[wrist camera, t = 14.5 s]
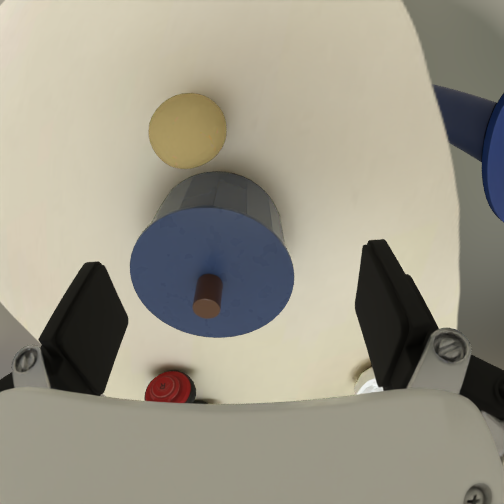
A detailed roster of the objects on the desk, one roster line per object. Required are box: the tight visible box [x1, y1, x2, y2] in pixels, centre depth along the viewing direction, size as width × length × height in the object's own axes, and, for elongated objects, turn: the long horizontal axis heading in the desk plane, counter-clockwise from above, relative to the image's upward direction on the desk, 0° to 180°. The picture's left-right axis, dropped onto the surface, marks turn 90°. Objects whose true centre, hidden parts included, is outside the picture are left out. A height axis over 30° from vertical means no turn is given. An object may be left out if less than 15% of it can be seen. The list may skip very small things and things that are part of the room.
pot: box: [152, 172, 285, 245], centre depth 33 cm, size 15×15×10 cm
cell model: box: [354, 367, 383, 395], centre depth 53 cm, size 10×12×7 cm
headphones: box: [145, 371, 208, 404], centre depth 49 cm, size 18×10×20 cm, turn 15°
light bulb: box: [149, 93, 226, 169], centre depth 25 cm, size 6×6×10 cm
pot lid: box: [130, 205, 294, 338], centre depth 28 cm, size 16×16×4 cm
